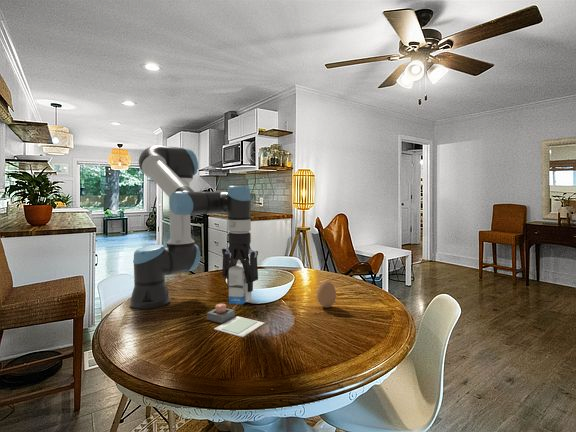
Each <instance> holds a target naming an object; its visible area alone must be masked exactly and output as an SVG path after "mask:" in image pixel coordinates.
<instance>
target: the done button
mask: <svg viewBox="0 0 576 432" xmlns="http://www.w3.org/2000/svg"><path fill="white" fill-rule="evenodd" d="M226 308H227V304H226V303H217V304H216V305H215V309H216V313H217V314H224V313H226Z"/></svg>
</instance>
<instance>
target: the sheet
mask: <svg viewBox="0 0 576 432" xmlns="http://www.w3.org/2000/svg"><path fill="white" fill-rule="evenodd" d="M265 324H266V323H265V322H262V321H258V320H254V319H251V318H248V317H247V318H246V317H242V316H237V315H236V316H235V317H233V318H231V319H229V320H228V321H226V322H224V323H221V324H220V325H218V326H216V327H214V328H213V330H215V331H219V332H223V333H226V334H229V335H232V336H237V337H239V338H245V337H246V336H248V335H249V334H250V333H252V332H254V331H256V330H257V329H259V328H261V326H263V325H265Z"/></svg>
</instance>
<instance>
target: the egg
mask: <svg viewBox="0 0 576 432" xmlns="http://www.w3.org/2000/svg"><path fill="white" fill-rule="evenodd" d="M316 299H317V301H318V304H319V305H321V307H323V308H326V309H327V308H328V309H329V308H331V307H332V306H333V305H334V304H335V302H336V299H337V293H336V288H335V286H334V284H333V283H332V282H331V281H329V280H324V281H322V282H321V283H320V284H319V286H318V289H317V291H316Z"/></svg>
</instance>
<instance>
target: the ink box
mask: <svg viewBox="0 0 576 432" xmlns="http://www.w3.org/2000/svg"><path fill="white" fill-rule="evenodd" d="M245 282H247V281H246V277H245V273H244V269H243V265H242V263H241V264H240V263H237V265H235V266H233V267H231V268H229V288H228V304H229V305H244V304H245V303H246V302H245Z"/></svg>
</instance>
